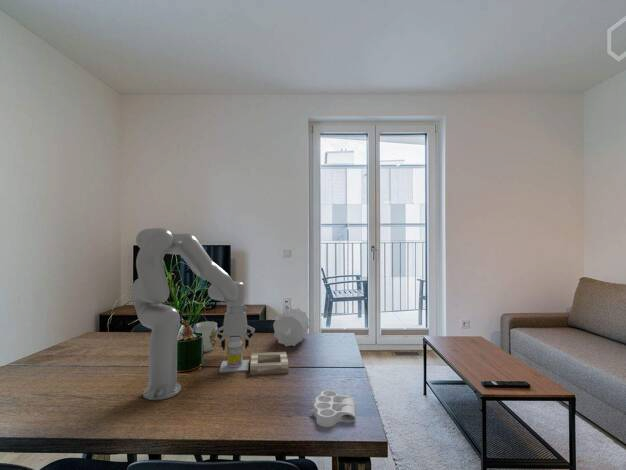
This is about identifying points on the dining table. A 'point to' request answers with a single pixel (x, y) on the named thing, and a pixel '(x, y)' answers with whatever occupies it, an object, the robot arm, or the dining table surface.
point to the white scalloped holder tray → (333, 408)
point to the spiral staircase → (291, 327)
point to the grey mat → (226, 368)
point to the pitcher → (207, 334)
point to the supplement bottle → (234, 352)
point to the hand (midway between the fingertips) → (235, 348)
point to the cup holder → (263, 367)
